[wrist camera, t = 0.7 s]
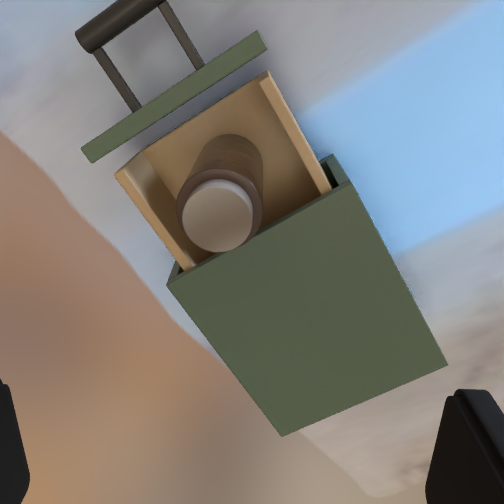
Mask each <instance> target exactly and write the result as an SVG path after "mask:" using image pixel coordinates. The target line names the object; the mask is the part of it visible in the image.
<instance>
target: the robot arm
mask: <svg viewBox="0 0 504 504" xmlns="http://www.w3.org/2000/svg"><path fill="white" fill-rule="evenodd" d="M29 482H30V473H29V469H28V464H27V460H26V456H25V452H24V448H23V443H22V439H21V435H20V431H19V426H18V422H17V418H16V413H15V409H14V405H13V401H12V397H11V392H10V389H9V387H8V385H6V384H3V383H2V381H1V379H0V504H21V502H22V500H23V498H24V496H25V494H26V492H27V490H28V487H29ZM425 493H426V500H427V504H504V414H503V412H502V411H501V409H500V408H499V406H498V405H497V403H496V402H495V400H494V399H493V397H492V396H491V394H490V393H489V392H488V391H486V390H475V389H458V390H456V391H455V393H454V396H448V397H447V399H446V401H445V406H444V410H443V414H442V418H441V422H440V427H439V431H438V435H437V439H436V443H435V447H434V452H433V456H432V460H431V464H430V468H429V473H428V477H427V481H426V486H425Z"/></svg>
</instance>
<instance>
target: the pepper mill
mask: <svg viewBox="0 0 504 504" xmlns="http://www.w3.org/2000/svg"><path fill="white" fill-rule="evenodd" d="M176 215H177V219H178V222H179V224H180V227H181V228H182V230H183V232H184V233H185V234H186V235H187V236H188V237H189V238H190V239H191V241H192V242H193V243H195V244H196V245H197V246H199V247H201V248H202V249H205V250H208V251H212V252H225V251H229V250H232V249H235V248H238V247H240V246H242V245H244V244H245V243H247V242H248V241H249V240H251V239H252V238H253V236H254V235H255V234H256V233H257V231H258V229H259V227H260V225H261V222H262V218H263V163H262V158H261V155H260V153H259V151H258V149H257V148H256V146H255V145H254V144H253V143H252V142H251V141H250V140H248V139H247V138H245V137H243V136H240V135H236V134H223V135H219V136H217V137H215V138H213V139H211V140H210V141H209V142H208V143H207V144H206V145H205V146H204V147H203V149H202V151H201V153H200V154H199V156H198V158H197V160H196V162H195V164H194V165H193V167H192V169H191V171H190V173H189V175H188V176H187V178H186V180H185V182H184V184H183V186H182V188H181V189H180V191H179V194H178V197H177V201H176Z"/></svg>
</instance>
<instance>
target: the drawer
mask: <svg viewBox="0 0 504 504" xmlns="http://www.w3.org/2000/svg"><path fill="white" fill-rule="evenodd" d="M156 7H158V8H159V9H160V11H161V13H162V14H163V16H164V18H165V19H166V21H167V23H168V24H169V26H170V28H171V29H172V31H173V32H174V34H175V36H176V37H177V39H178V41H179V42H180V44H181V46H182V47H183V49H184V51H185V52H186V54H187V56H188V57H189V59H190V60H191V62H192V64H193V65H194V67H195V69H196V70H197V71H195V72H194V73H192V74H191V75H189V76H188V77H186V78H185V79H183V80H182V81H180V82H179V83H177V84H176V85H174V86H173V87H171V88H170V89H168V90H167V91H165V92H164V93H162V94H161V95H159V96H158V97H156V98H155V99H153V100H152V101H150V102H149V103H147V104H146V105H144V106H143V107H142V106H141V104H140V103H139V101H138V100H137V98H136V97H135V95H134V94H133V92H132V91H131V89H130V88H129V86H128V85H127V83H126V82H125V81H124V79H123V78H122V76H121V75H120V73H119V72H118V70H117V69H116V67H115V66H114V64H113V63H112V61H111V60H110V58H109V57H108V55H107V54H106V52H105V51H104V49H103V48H101V47H102V46H104V45H105V44H106V43H108V42H109V41H110V40H112V39H113V38H115V37H116V36H117V35H119V34H120V33H122V32H123V31H124V30H126V29H127V28H129V27H130V26H131V25H133V24H134V23H136V22H137V21H138V20H140V19H141V18H142V17H144V16H145V15H147V14H148V13H149V12H151V11H152V10H154V9H155V8H156ZM75 36H76V38H77V40H78V42H79V43H80V45H81V46H82V47H83V48H84V49H85V50H86V51H87V52H88V53H90V54H92V53H93V55H94V56H95V58H96V59H97V61H98V62H99V64H100V65H101V66H102V68H103V69H104V71H105V72H106V74H107V75H108V77H109V78H110V80H111V81H112V83H113V84H114V86H115V87H116V88H117V90H118V91H119V93H120V94H121V96H122V97H123V99H124V100H125V102H126V103H127V105H128V106H129V108H130V109H131V110H132V112H133V113H132V114H131V115H129V116H128V117H126V118H125V119H123V120H122V121H120V122H119V123H117V124H116V125H114V126H113V127H111V128H110V129H108V130H107V131H105V132H104V133H102V134H101V135H99V136H98V137H96V138H95V139H93V140H92V141H90V142H89V143H87V144H86V145H84V146H83V147H81V150H82V152H83V153H84V154H85V156H86V157H87V158H88V160H89V161H90V162H91V163H94V162H96V161H97V160H99V159H100V158H102V157H103V156H105V155H106V154H108V153H109V152H111V151H112V150H114V149H116V148H117V147H119V146H120V145H122V144H123V143H125V142H126V141H128V140H129V139H131V138H132V137H134V136H135V135H137V134H139V133H140V132H142V131H143V130H145V129H146V128H148V127H149V126H151V125H152V124H154V123H155V122H157V121H158V120H160V119H162V118H163V117H165V116H166V115H168V114H169V113H171V112H172V111H174V110H175V109H177V108H178V107H180V106H182V105H183V104H185V103H186V102H188V101H189V100H191V99H192V98H194V97H195V96H197V95H198V94H200V93H201V92H203V91H205V90H206V89H208V88H209V87H211V86H212V85H214V84H215V83H217V82H218V81H220V80H221V79H223V78H225V77H226V76H228V75H229V74H231V73H232V72H234V71H235V70H237V69H238V68H240V67H241V66H243V65H244V64H246V63H248V62H249V61H251V60H252V59H254V58H255V57H257V56H258V55H260V54H261V53H263V52H264V51H266V50H267V49H268V47H267V45H266V43H265V41H264V40H263V38H262V36H261V34H260V32H259V31H258V30H257V31H255V32H254V33H252V34H251V35H249V36H248V37H246V38H245V39H243V40H242V41H240V42H239V43H237V44H236V45H234V46H233V47H231V48H230V49H228V50H227V51H225V52H224V53H222V54H221V55H219V56H218V57H216V58H215V59H213V60H212V61H210V62H209V63H207V64H206V65H205V64H204V62H203V60H202V58H201V57H200V55H199V53H198V52H197V50H196V48H195V47H194V45H193V43H192V42H191V40H190V38H189V37H188V35H187V33H186V32H185V30H184V28H183V27H182V25H181V23H180V22H179V20H178V18H177V17H176V15H175V13H174V12H173V10H172V8H171V7H170V5H169V3H168V2H167V1H166V0H117V1H116V2H115V3H113V4H112V5H111V6H109V7H108V8H107V9H105V10H104V11H102V12H101V13H100V14H98V15H97V16H96V17H94V18H93V19H92V20H90V21H89V22H88V23H86V24H85V25H84V26H82V27H81V28H80V29H78V30H77V31H76V32H75ZM223 134H236V135H240V136H243V137H245V138H247V139H248V140H250V141H251V142H252V143H253V144H254V145H255V146H256V148H257V149H258V151H259V153H260V155H261V158H262V163H263V218H262V222H261V225H260V227H259V229H258V230H260V229H262V228H264V227H266V226H267V225H269V224H271V223H273V222H275V221H276V220H278V219H280V218H282V217H284V216H285V215H287V214H289V213H291V212H293V211H294V210H296V209H298V208H300V207H302V206H304V205H305V204H307V203H309V202H311V201H313V200H314V199H316V198H318V197H320V196H322V195H323V194H325V193H327V192H329V191H331V190H332V189H333V187H332V185H331V183H330V181H329V180H328V178H327V176H326V174H325V172H324V171H323V169H322V167H321V165H320V163H319V161H318V160H317V158H316V156H315V154H314V152H313V151H312V149H311V147H310V145H309V143H308V141H307V140H306V138H305V136H304V134H303V132H302V131H301V129H300V127H299V125H298V123H297V121H296V120H295V118H294V116H293V114H292V112H291V111H290V109H289V107H288V105H287V103H286V101H285V100H284V98H283V96H282V94H281V92H280V91H279V89H278V87H277V85H276V83H275V81H274V80H273V78H272V76H271V74H270V72H269V71H268V70H267V71H265V72H263V73H262V74H260V75H259V76H257V77H256V78H254V79H253V80H251V81H249V82H248V83H246V84H245V85H243V86H242V87H240V88H238V89H237V90H235V91H234V92H232V93H231V94H229V95H228V96H226V97H224V98H223V99H221V100H220V101H218V102H217V103H215V104H213V105H212V106H210V107H209V108H207V109H206V110H204V111H203V112H201V113H199V114H198V115H196V116H195V117H193V118H192V119H190V120H188V121H187V122H185V123H184V124H182V125H181V126H179V127H178V128H176V129H174V130H173V131H171V132H170V133H168V134H167V135H165V136H163V137H162V138H160V139H159V140H157V141H156V142H154V143H153V144H151V145H149V146H148V147H146V148H145V149H143V150H142V151H140V152H138V153H137V154H136V155H135V156H133V157H132V158H131V159H130V160H129V161H128V162H127V163H126V164H125V165H124V166H122V167H121V168H120V169H119V170H118V171H117V172H116V173H115V174H114V176H115V178H116V179H117V180H118V182H119V183H120V184H121V186H122V187H123V189H124V190H125V191H126V193H127V194H128V195H129V197H130V198H131V199H132V201H133V202H134V204H135V205H136V206H137V208H138V209H139V210H140V212H141V213H142V214H143V216H144V217H145V219H146V220H147V221H148V223H149V224H150V225H151V227H152V228H153V229H154V231H155V232H156V233H157V235H158V236H159V238H160V239H161V240H162V242H163V243H164V244H165V246H166V247H167V248H168V250H169V251H170V253H171V254H172V255H173V257H174V258H175V259H176V261H177V262H178V263H179V265H180V266H181V267H182V269H183V270H184V271H186V270H188V269H190V268H191V267H193V266H195V265H197V264H199V263H200V262H202V261H204V260H206V259H208V258H209V257H211V256H213V255H215V254H217V253H219V252H212V251H208V250H205V249H202V248H201V247H199V246H197V245H196V244H195V243H193V242H192V241H191V239H190V238H189V237H188V236H187V235H186V234H185V233H184V232H183V230H182V228H181V227H180V224H179V222H178V219H177V215H176V201H177V197H178V194H179V191H180V189H181V188H182V186H183V184H184V182H185V180H186V178H187V176H188V175H189V173H190V171H191V169H192V167H193V165H194V164H195V162H196V160H197V158H198V156H199V154H200V153H201V151H202V149H203V147H204V146H205V145H206V144H207V143H208V142H209V141H210V140H211V139H213V138H215V137H217V136H219V135H223Z"/></svg>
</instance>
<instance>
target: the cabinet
mask: <svg viewBox="0 0 504 504" xmlns="http://www.w3.org/2000/svg"><path fill="white" fill-rule="evenodd" d="M319 163H320V165H321V167H322V169H323V171H324V172H325V174H326V176H327V178H328V180H329V181H330V183H331V185H332V187H333V189H332V190H331V191H329V192H327V193H325V194H323V195H322V196H320V197H318V198H316V199H314V200H313V201H311V202H309V203H307V204H305V205H304V206H302V207H300V208H298V209H296V210H294V211H293V212H291V213H289V214H287V215H285V216H284V217H282V218H280V219H278V220H276V221H275V222H273V223H271V224H269V225H267V226H266V227H264V228H262V229H260V230H258V231H257V233H256V234H255V235H254V236H253V238H252V239H251V240H249V241H248V242H247V243H245V244H244V245H242V246H240V247H238V248H235V249H232V250H229V251H225V252H219V253H217V254H215V255H213V256H211V257H209V258H208V259H206V260H204V261H202V262H200V263H199V264H197V265H195V266H193V267H191V268H190V269H188V270H186V271H184V270H183V269H182V267H181V266H180V265H179V263H178V262H177V261H175V263H174V266H173V269H172V271H171V274H170V276H169V279H168V282H167V284H166V286H167V287H168V289H169V290H170V291H171V293H172V294H173V295H174V297H175V298H176V299H177V300H178V302H179V303H180V304H181V306H182V307H183V308H184V310H185V311H186V312H187V314H188V315H189V316H190V317H191V319H192V320H193V321H194V323H195V324H196V325H197V327H198V328H199V329H200V331H201V332H202V333H203V335H204V336H205V337H206V338H207V340H208V341H209V342H210V344H211V345H212V346H213V348H214V349H215V350H216V352H217V353H218V354H219V356H220V357H221V358H222V359H223V361H224V362H225V363H226V365H227V366H228V367H229V369H230V370H231V371H232V373H233V374H234V375H235V376H236V378H237V379H238V380H239V382H240V383H241V384H242V385H243V387H244V388H245V389H246V391H247V392H248V393H249V395H250V396H251V397H252V399H253V400H254V401H255V403H256V404H257V405H258V407H259V408H260V409H261V410H262V412H263V413H264V415H265V416H266V417H267V418H268V420H269V421H270V422H271V424H272V425H273V426H274V428H275V429H276V430H277V432H278V433H279V434H280V436H281V437H283V436H285V435H288V434H290V433H292V432H295V431H297V430H299V429H301V428H304V427H306V426H308V425H311V424H313V423H315V422H318V421H320V420H322V419H325V418H327V417H329V416H332V415H334V414H336V413H339V412H341V411H343V410H346V409H348V408H350V407H352V406H355V405H357V404H359V403H362V402H364V401H366V400H369V399H371V398H373V397H376V396H378V395H380V394H383V393H385V392H387V391H390V390H392V389H394V388H397V387H399V386H401V385H404V384H406V383H408V382H410V381H413V380H415V379H417V378H420V377H422V376H424V375H427V374H429V373H431V372H434V371H436V370H438V369H441V368H443V367H445V366H448V363H447V361H446V359H445V357H444V355H443V353H442V351H441V350H440V348H439V346H438V344H437V342H436V340H435V338H434V336H433V335H432V333H431V331H430V329H429V327H428V325H427V323H426V321H425V319H424V318H423V316H422V314H421V312H420V310H419V308H418V306H417V304H416V302H415V301H414V299H413V297H412V295H411V293H410V291H409V289H408V287H407V286H406V284H405V282H404V280H403V278H402V276H401V274H400V272H399V270H398V269H397V267H396V265H395V263H394V261H393V259H392V257H391V255H390V254H389V252H388V250H387V248H386V246H385V244H384V242H383V240H382V238H381V237H380V235H379V233H378V231H377V229H376V227H375V225H374V223H373V221H372V220H371V218H370V216H369V214H368V212H367V210H366V208H365V206H364V205H363V203H362V201H361V199H360V197H359V195H358V193H357V191H356V189H355V188H354V186H353V184H352V182H351V181H350V179H349V177H348V176H347V174H346V173H345V171H344V170H343V168H342V167H341V165H340V163H339V162H338V160H337V159H336V157H335V156H334V154H331V155H330V156H328V157H326V158H324V159H323V160H321V161H319Z"/></svg>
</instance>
